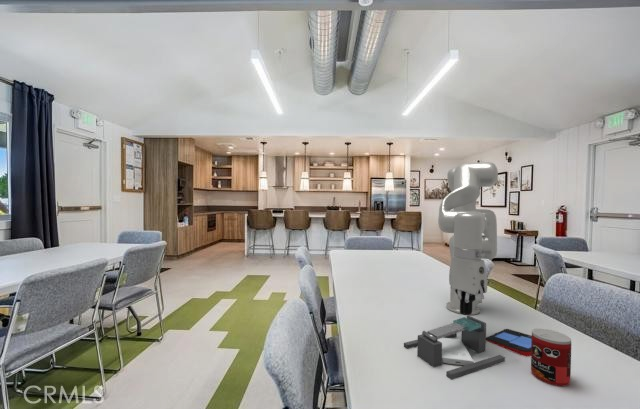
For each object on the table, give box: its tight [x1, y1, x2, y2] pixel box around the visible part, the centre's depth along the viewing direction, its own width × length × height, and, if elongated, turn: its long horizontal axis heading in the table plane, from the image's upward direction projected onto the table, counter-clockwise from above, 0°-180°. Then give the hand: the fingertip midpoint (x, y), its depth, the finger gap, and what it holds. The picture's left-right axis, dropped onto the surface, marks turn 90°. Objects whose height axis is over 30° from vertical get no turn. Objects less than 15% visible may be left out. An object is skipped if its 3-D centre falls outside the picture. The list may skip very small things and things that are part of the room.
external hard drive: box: [438, 338, 475, 366], centre depth 83 cm, size 2×8×12 cm
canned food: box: [530, 328, 572, 387], centre depth 73 cm, size 8×8×11 cm
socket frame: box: [403, 315, 506, 380], centre depth 83 cm, size 21×18×9 cm
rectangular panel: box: [421, 316, 481, 342], centre depth 83 cm, size 18×6×1 cm, turn 114°
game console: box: [486, 328, 532, 357], centre depth 91 cm, size 14×13×2 cm
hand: (465, 313), depth 86 cm, fingers closed
